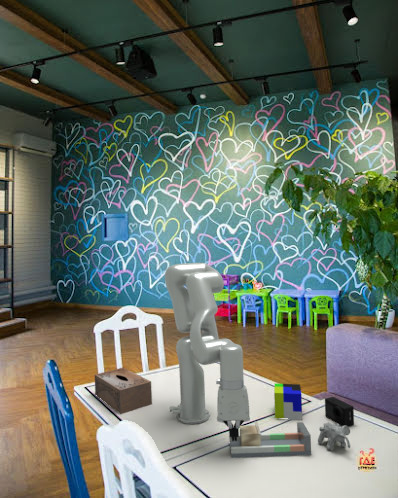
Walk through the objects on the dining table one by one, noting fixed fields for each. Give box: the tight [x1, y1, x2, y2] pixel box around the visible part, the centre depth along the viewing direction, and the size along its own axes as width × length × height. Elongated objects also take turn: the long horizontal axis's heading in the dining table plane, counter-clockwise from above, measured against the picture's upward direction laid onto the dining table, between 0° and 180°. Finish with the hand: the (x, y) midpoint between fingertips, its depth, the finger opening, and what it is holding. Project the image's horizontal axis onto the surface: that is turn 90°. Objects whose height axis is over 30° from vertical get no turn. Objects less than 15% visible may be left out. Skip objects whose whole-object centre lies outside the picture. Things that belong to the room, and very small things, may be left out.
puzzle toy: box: [273, 383, 303, 421], centre depth 151 cm, size 10×10×10 cm
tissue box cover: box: [94, 367, 153, 415], centre depth 171 cm, size 26×14×10 cm, turn 38°
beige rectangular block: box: [239, 421, 262, 446], centre depth 126 cm, size 6×9×6 cm
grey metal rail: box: [228, 432, 312, 459], centre depth 126 cm, size 25×9×3 cm, turn 90°
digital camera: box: [324, 396, 355, 428], centre depth 144 cm, size 10×5×7 cm, turn 23°
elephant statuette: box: [317, 422, 351, 451], centre depth 125 cm, size 9×12×8 cm
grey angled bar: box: [296, 421, 312, 452], centre depth 126 cm, size 2×9×5 cm, turn 0°
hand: (234, 438), depth 126 cm, fingers closed
